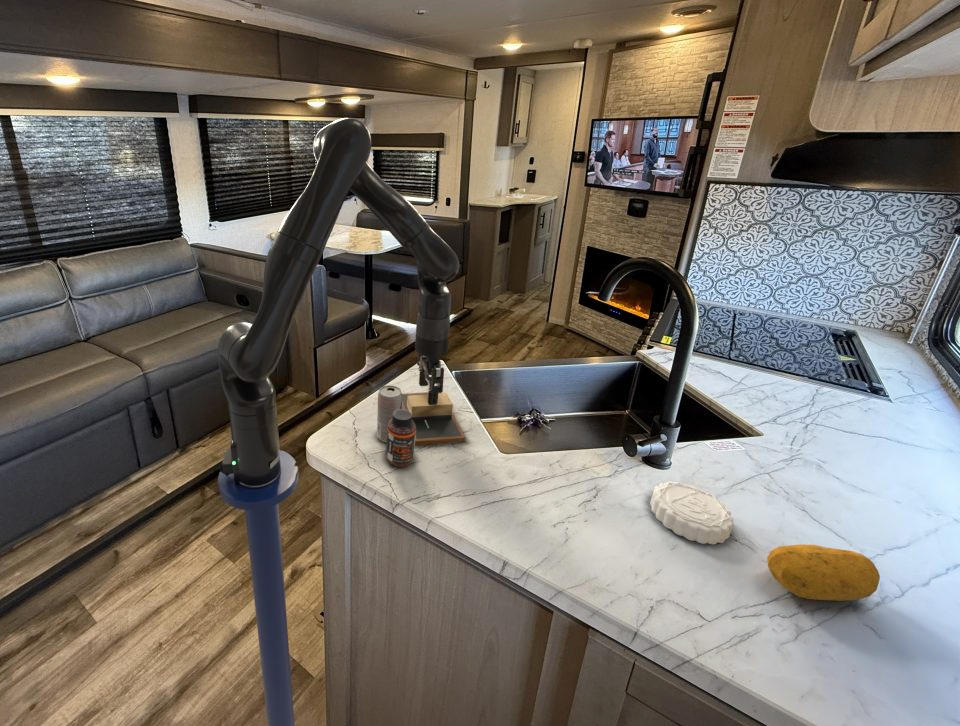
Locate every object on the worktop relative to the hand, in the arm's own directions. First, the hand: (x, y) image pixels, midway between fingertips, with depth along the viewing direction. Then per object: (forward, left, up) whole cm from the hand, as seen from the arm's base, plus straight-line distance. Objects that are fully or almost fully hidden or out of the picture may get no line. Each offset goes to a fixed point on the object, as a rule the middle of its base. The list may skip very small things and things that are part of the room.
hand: (427, 394), depth 110 cm
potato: (+48, -51, -7) cm, 70 cm away
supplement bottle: (-9, -14, -7) cm, 18 cm away
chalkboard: (+1, 0, -7) cm, 7 cm away
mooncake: (+40, -36, -7) cm, 54 cm away
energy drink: (-10, -6, -7) cm, 14 cm away
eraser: (+1, 0, -6) cm, 6 cm away
